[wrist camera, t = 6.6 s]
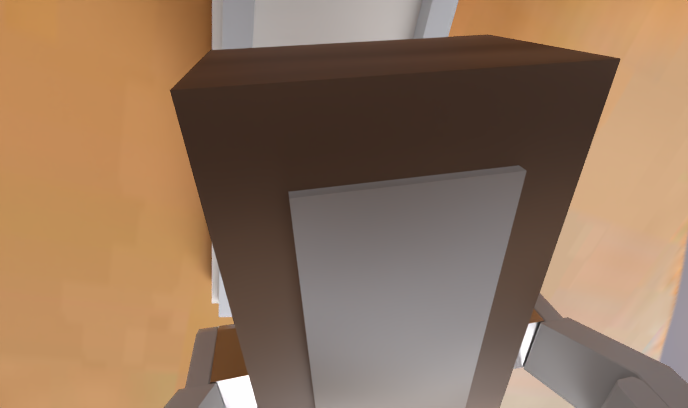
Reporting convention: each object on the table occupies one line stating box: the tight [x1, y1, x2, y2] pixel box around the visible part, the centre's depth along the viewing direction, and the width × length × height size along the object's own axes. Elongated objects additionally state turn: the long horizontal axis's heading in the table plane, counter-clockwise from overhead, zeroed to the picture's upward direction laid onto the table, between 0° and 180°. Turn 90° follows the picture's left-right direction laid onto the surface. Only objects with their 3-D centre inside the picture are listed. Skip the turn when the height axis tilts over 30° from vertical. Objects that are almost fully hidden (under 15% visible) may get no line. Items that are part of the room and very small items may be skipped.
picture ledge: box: [212, 0, 458, 317], centre depth 20 cm, size 22×11×3 cm, turn 169°
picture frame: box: [170, 35, 620, 408], centre depth 10 cm, size 14×6×4 cm, turn 2°
